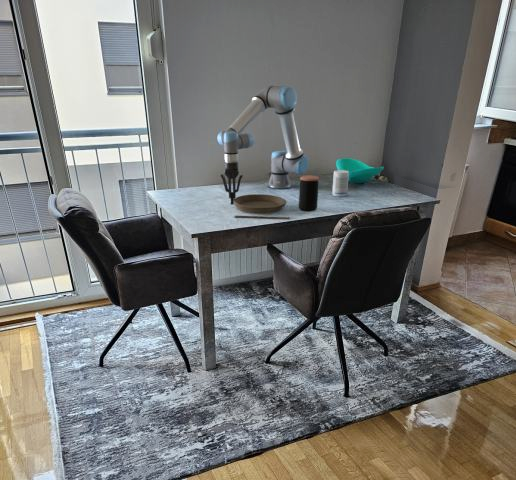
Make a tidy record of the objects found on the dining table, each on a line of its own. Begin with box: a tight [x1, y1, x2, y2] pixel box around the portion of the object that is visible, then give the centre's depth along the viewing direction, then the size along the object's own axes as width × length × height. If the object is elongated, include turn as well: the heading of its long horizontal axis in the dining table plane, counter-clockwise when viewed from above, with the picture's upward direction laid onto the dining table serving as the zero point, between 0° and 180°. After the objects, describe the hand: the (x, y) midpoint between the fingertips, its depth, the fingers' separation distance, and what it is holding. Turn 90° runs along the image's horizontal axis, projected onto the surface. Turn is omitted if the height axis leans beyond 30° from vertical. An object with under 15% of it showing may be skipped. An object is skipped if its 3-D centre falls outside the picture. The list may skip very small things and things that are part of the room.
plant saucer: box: [233, 193, 287, 215], centre depth 274 cm, size 31×31×5 cm
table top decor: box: [335, 157, 384, 184], centre depth 331 cm, size 40×28×13 cm
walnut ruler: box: [234, 215, 290, 220], centre depth 258 cm, size 30×2×1 cm, turn 84°
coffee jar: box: [298, 174, 320, 213], centre depth 269 cm, size 11×11×18 cm
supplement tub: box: [331, 169, 349, 198], centre depth 298 cm, size 10×10×15 cm
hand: (232, 203), depth 276 cm, fingers closed
